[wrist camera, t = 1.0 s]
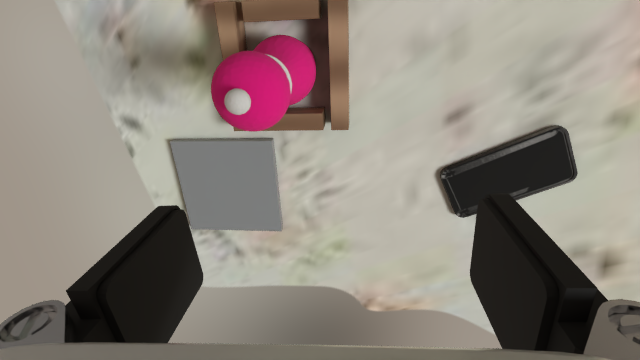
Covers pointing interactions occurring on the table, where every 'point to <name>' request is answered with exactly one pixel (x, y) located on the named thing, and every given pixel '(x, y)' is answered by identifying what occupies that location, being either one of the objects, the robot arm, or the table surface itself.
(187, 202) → the slate tile
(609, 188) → the table surface
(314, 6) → the collar
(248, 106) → the pepper mill
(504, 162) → the phone
